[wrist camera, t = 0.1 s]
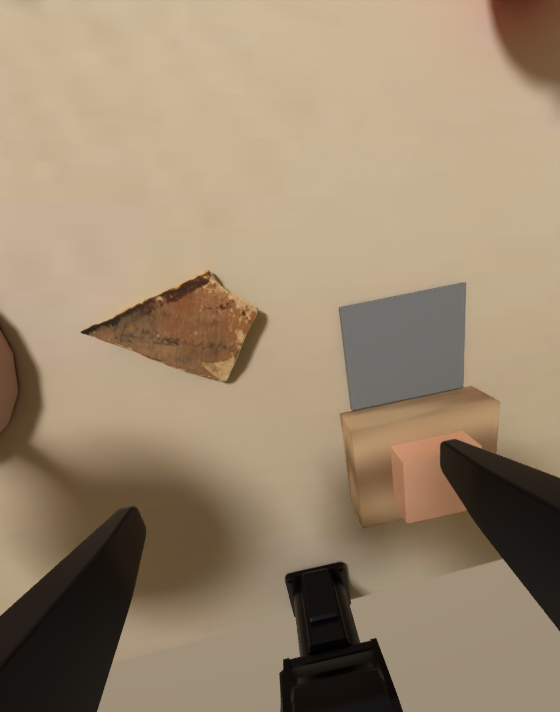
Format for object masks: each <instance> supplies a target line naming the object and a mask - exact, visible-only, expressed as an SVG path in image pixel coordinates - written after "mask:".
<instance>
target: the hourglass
mask: <svg viewBox="0 0 560 712" xmlns="http://www.w3.org/2000/svg"><path fill="white" fill-rule="evenodd" d="M18 392H19V391H18V384H17V377H16V370H15V363H14V356H13V352H12V350H11V349H10V347H9V345H8V343H7V341H6V339H5V338H4V336H3V334H2V332H1V330H0V432H1V431H2V430H3V429H4V428H5V427H6V426H7V425H8V424H9V421H10V418H11V414H12V411H13V408H14V405H15V401H16V398H17V395H18Z"/></svg>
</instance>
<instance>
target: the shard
mask: <svg viewBox="0 0 560 712" xmlns="http://www.w3.org/2000/svg"><path fill="white" fill-rule="evenodd" d="M257 311H258V308H257V307H256V306H255V305H253V304H251V303H249V302H246V301H244V300H242V299H240V298H238V297H237V296H235V295H233V294H231V293H229V292H228V291H226V290H225V289H224V288H223V287H222V286H221V285H220V284H219V282H218V281H217V280H216V278H215V277H214V275H213V274H212V273H211V272H210V270H207V271H205V272H204V273H202V274H201V275H198V276H196V277H195V278H193V279H190V280H188V281H185V282H183V283H181V284H179V285H177V286H175V287H173V288H171V289H169V290H167V291H165V292H163V293H161V294H159V295H156V296H154V297H151V298H149V299H146V300H144V301H142V302H141V303H138V304H136V305H134V306H131V307H129V308H127V309H125V310H124V311H122V312H121V313H119V314H117V315H115V316H114V317H113V318H111V319H109V320H107V321H104V322H102V323H100V324H94V325H92V326H90V327H88V328H86V329H84V330H83V331H81V333H83V334H87V335H89V336H92V337H95V338H98V339H100V340H103V341H105V342H109V343H112V344H116V345H120V346H122V347H125V348H127V349H130V350H133V351H135V352H137V353H140V354H142V355H143V356H146V357H148V358H150V359H153V360H156V361H159V362H162V363H164V364H166V365H168V366H171V367H174V368H176V369H182V370H184V371H186V372H188V373H192V374H196V375H199V376H207V377H210V378H212V379H214V380H217V381H228V378H229V376H230V374H231V371H232V368H233V367H234V366H235V363H236V361H237V358H238V356H239V353H240V351H241V348H242V345H243V342H244V339H245V337H246V335H247V332H248V331H249V329H250V327H251V325H252V324H253V322H254V320H255V319H256V316H257Z"/></svg>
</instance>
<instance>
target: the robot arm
mask: <svg viewBox="0 0 560 712" xmlns="http://www.w3.org/2000/svg"><path fill="white" fill-rule="evenodd" d="M440 467H441V470H442V472H443V474H444V475H445V477H446V479H447V480H448V482H449V483H450V485H451V486H452V488H453V489H454V491H455V492H456V494H457V496H458V497H459V499H460V500H461V502H462V503H463V505H464V506H465V508H466V509H467V511H468V513H469V514H470V516H471V517H472V518H473V520H474V521H475V523H476V524H477V526H478V527H479V528H480V530H481V531H482V532H483V534H484V535H485V536H486V537H487V539H488V540H489V541H490V542H491V544H492V545H493V546H494V548H495V549H496V550H497V551H498V553H499V554H500V555H501V557H502V558H503V559H504V560H505V562H506V563H507V564H508V566H509V567H510V568H511V569H512V570H513V572H514V573H515V574H516V576H517V577H518V578H519V580H520V581H521V582H522V583H523V585H524V586H525V587H526V588H527V590H528V591H529V592H530V594H531V595H532V596H533V598H534V599H535V600H536V601H537V603H538V604H539V605H540V606H541V608H542V609H543V610H544V612H545V613H546V614H547V615H548V617H549V618H550V619H551V621H552V622H553V623H554V624H555V626H556V627H557V628H558V630H559V631H560V478H558V477H556V476H553V475H550V474H548V473H545V472H542V471H540V470H537V469H534V468H532V467H529V466H527V465H524V464H521V463H519V462H516V461H513V460H511V459H508V458H505V457H503V456H500V455H497V454H495V453H492V452H489V451H487V450H484V449H481V448H479V447H476V446H473V445H471V444H468V443H465V442H463V441H460V440H457V439H451V440H446V441H442V442H441V444H440ZM145 538H146V526H145V524H144V521H143V519H142V517H141V515H140V512H139V510H138V508H137V507H136V506H129V507H125V508H121V509H119V510H118V511H117V512H116V513H114V514H113V515H112V516H111V517H110V518H109V519H108V520H107V521H106V522H104V523H103V524H102V525H101V526H100V527H99V528H98V529H97V530H96V531H94V532H93V533H92V534H91V535H90V536H89V537H88V538H87V539H85V540H84V541H83V542H82V543H81V544H80V545H79V546H78V547H77V548H75V549H74V550H73V551H72V552H71V553H70V554H69V555H68V556H67V557H65V558H64V559H63V560H62V561H61V562H60V563H59V564H58V565H57V566H55V567H54V568H53V569H52V570H51V571H50V572H49V573H48V574H47V575H45V576H44V577H43V578H42V579H41V580H40V581H39V582H38V583H37V584H35V585H34V586H33V587H32V588H31V589H30V590H29V591H28V592H26V593H25V594H24V595H23V596H22V597H21V598H20V599H19V600H18V601H16V602H15V603H14V604H13V605H12V606H11V607H10V608H9V609H8V610H6V611H5V612H4V613H3V614H2V615H1V616H0V712H97V710H98V706H99V703H100V700H101V697H102V694H103V690H104V687H105V684H106V681H107V677H108V674H109V671H110V668H111V664H112V662H113V658H114V655H115V652H116V649H117V645H118V642H119V639H120V636H121V633H122V629H123V626H124V623H125V620H126V617H127V613H128V610H129V607H130V603H131V600H132V596H133V592H134V588H135V583H136V579H137V574H138V570H139V565H140V561H141V556H142V551H143V547H144V542H145ZM285 583H286V586H287V590H288V594H289V598H290V602H291V606H292V609H293V613H294V616H295V617H296V624H297V633H298V641H299V650H300V657H298V658H294V659H289V658H287V659H283V668H284V669H283V670H282V671H281V672H280V673H279V674H280V690H281V710H280V712H403V711H402V708H401V704H400V701H399V698H398V696H397V693H396V690H395V688H394V685H393V682H392V680H391V677H390V674H389V671H388V669H387V666H386V663H385V660H384V658H383V655H382V653H381V650H380V647H379V644H378V642H377V639H376V638H374V639H371V641H367V642H363V643H360V641H359V637H358V633H357V630H356V626H355V623H354V619H353V616H352V612H351V608H350V604H351V601H350V595H349V589H348V582H347V576H346V570H345V566H344V564H343V563H337V564H332V565H328V566H323V567H319V568H314V569H310V570H305V571H301V572H296V573H292V574H288V575H286V576H285Z"/></svg>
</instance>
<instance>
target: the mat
mask: <svg viewBox="0 0 560 712" xmlns="http://www.w3.org/2000/svg"><path fill="white" fill-rule="evenodd" d="M465 303H466V283H458V284H453V285H448V286H443V287H439V288H434V289H429V290H424V291H419V292H414V293H409V294H404V295H399V296H394V297H389V298H384V299H379V300H374V301H369V302H364V303H359V304H354V305H349V306H344V307H339V312H340V321H341V329H342V338H343V346H344V355H345V363H346V372H347V380H348V389H349V397H350V406H351V410H357V409H362V408H366V407H371V406H376V405H381V404H386V403H390V402H395V401H400V400H405V399H409V398H414V397H419V396H424V395H428V394H433V393H438V392H443V391H447V390H452V389H457V388H462V387H463V378H464V341H465Z"/></svg>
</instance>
